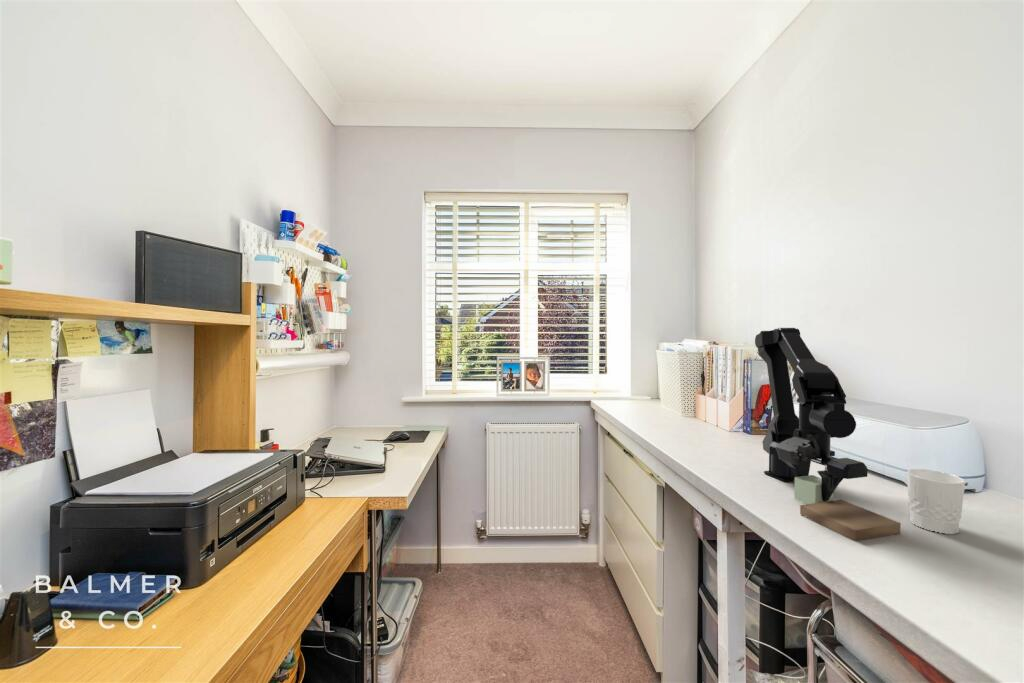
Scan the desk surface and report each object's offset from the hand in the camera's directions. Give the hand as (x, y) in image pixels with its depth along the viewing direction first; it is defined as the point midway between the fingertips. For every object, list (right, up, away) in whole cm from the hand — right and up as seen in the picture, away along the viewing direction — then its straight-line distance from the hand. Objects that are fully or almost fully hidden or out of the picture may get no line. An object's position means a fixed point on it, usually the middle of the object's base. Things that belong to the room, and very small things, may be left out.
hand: (813, 496), depth 93 cm
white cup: (+15, -2, -11) cm, 19 cm away
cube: (0, -1, 0) cm, 1 cm away
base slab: (-1, -2, -10) cm, 10 cm away
